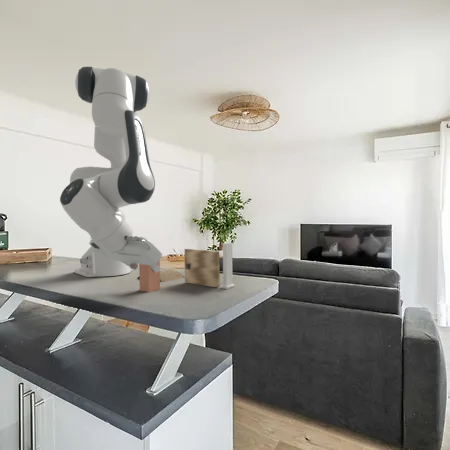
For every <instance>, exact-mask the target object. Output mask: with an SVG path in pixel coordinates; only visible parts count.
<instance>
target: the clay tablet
mask: <svg viewBox="0 0 450 450" xmlns="http://www.w3.org/2000/svg"><path fill="white" fill-rule="evenodd" d="M137 278H138V279H140V275H139V276H138V277H137ZM180 279H185V275H183V274H182V273H181V272H179V271H178V270H173V269H164V270H160V282H161V283H166V282H167V283H168V282H171V281H174V280H175V281H176V280H180Z"/></svg>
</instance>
